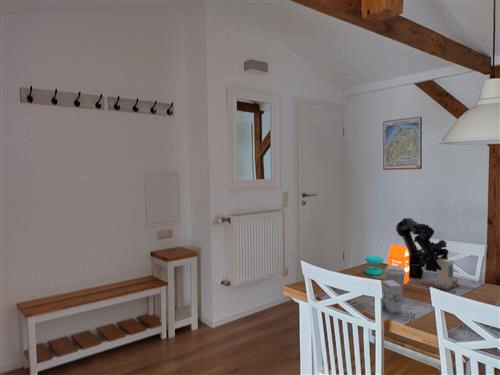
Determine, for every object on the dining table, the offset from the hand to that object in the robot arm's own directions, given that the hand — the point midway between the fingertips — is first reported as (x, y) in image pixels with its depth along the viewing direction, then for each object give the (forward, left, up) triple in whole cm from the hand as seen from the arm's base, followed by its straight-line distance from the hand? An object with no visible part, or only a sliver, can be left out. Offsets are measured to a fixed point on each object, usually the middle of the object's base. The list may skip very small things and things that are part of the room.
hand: (445, 268), depth 193 cm
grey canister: (-20, -33, -10) cm, 39 cm away
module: (0, 0, -9) cm, 9 cm away
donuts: (-38, +8, -10) cm, 40 cm away
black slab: (-8, +33, -10) cm, 36 cm away
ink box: (-19, -47, -10) cm, 51 cm away
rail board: (0, 0, -10) cm, 10 cm away
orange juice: (-23, -1, -10) cm, 25 cm away
